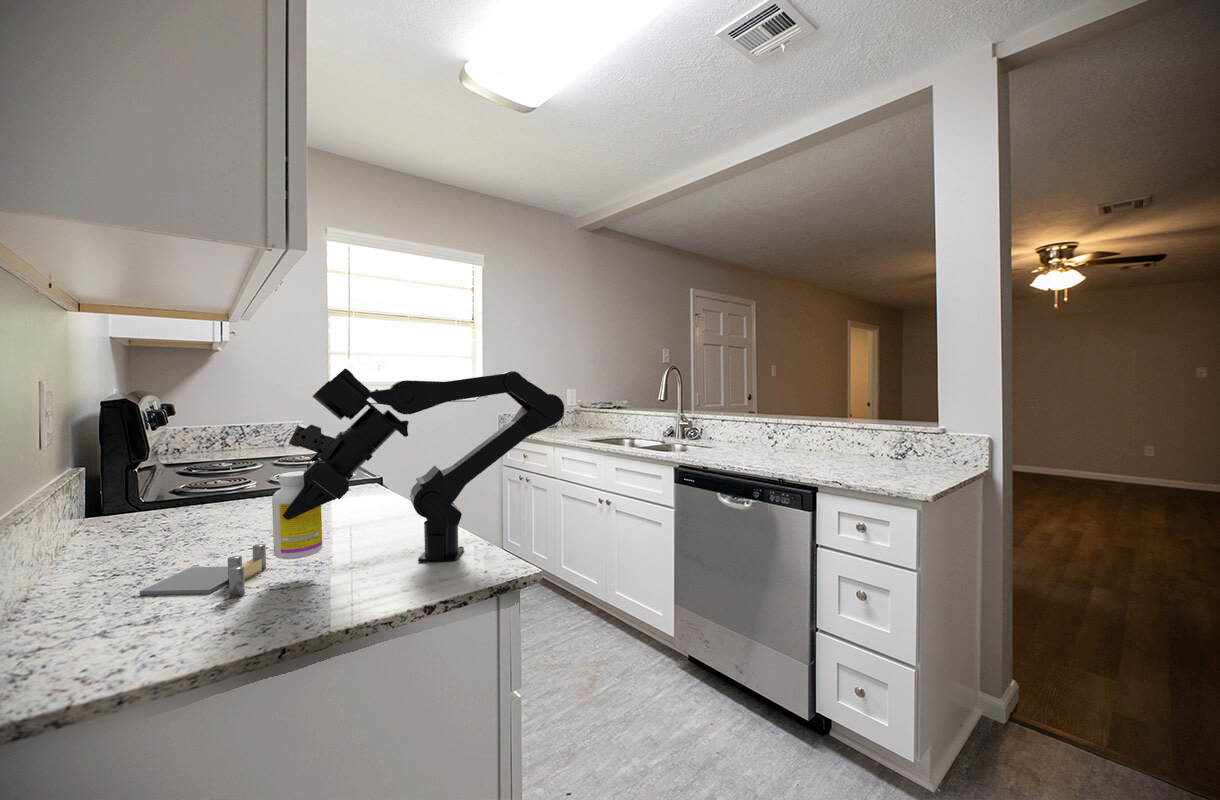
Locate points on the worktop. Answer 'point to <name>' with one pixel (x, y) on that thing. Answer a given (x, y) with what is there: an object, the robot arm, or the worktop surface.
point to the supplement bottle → (294, 521)
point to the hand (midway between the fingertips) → (287, 513)
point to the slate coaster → (191, 582)
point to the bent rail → (245, 570)
